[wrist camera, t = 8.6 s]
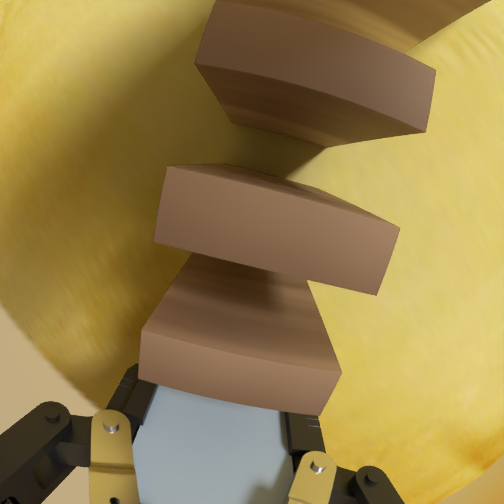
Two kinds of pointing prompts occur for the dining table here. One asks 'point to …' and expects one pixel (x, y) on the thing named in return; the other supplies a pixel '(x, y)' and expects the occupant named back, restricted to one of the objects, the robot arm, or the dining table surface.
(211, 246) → the domino
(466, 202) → the dining table surface
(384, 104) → the domino
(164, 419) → the domino
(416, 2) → the block
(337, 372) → the domino
